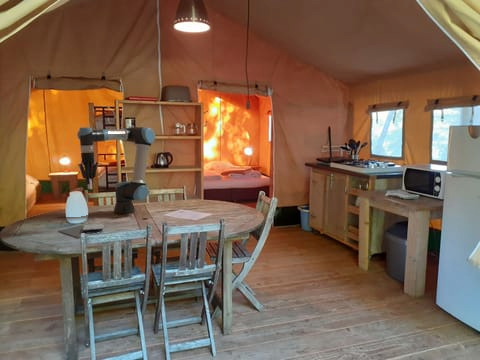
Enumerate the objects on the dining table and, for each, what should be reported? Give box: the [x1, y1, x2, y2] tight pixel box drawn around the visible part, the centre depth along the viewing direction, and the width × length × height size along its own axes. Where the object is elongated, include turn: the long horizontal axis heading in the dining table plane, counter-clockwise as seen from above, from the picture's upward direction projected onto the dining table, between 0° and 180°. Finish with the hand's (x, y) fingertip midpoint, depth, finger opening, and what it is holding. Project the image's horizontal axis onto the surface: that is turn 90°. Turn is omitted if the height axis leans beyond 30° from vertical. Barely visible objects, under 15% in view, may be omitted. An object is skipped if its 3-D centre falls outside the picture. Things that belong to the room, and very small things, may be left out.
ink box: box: [83, 223, 104, 232], centre depth 231 cm, size 12×2×12 cm
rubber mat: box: [57, 224, 103, 239], centre depth 230 cm, size 16×22×1 cm
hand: (90, 188), depth 237 cm, fingers closed
